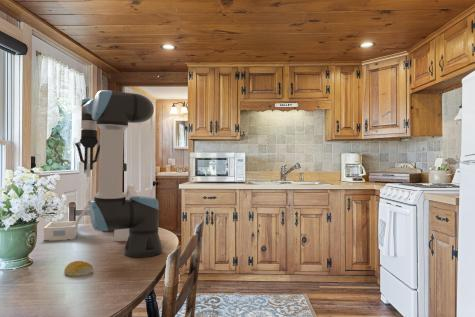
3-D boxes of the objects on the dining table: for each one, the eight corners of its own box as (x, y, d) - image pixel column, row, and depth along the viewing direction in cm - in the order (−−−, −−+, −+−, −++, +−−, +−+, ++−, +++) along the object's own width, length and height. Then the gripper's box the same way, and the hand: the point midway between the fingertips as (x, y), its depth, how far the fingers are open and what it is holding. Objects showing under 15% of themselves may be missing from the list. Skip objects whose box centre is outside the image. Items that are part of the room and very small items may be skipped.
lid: (91, 197, 188) (94, 199, 188) (77, 219, 185) (80, 220, 186) (89, 201, 172) (91, 202, 172) (73, 224, 170) (76, 226, 170)
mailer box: (50, 233, 181) (50, 222, 182) (78, 232, 186) (78, 221, 186) (43, 240, 166) (43, 227, 166) (74, 239, 170) (74, 226, 170)
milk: (137, 241, 168) (138, 186, 168) (113, 240, 168) (114, 185, 168) (145, 236, 180) (146, 184, 180) (122, 235, 180) (123, 184, 180)
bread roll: (82, 268, 126) (83, 256, 126) (96, 273, 120) (96, 261, 120) (59, 273, 119) (59, 261, 119) (72, 279, 114) (72, 266, 114)
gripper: (103, 130, 185) (102, 176, 185) (76, 129, 181) (75, 176, 181) (102, 129, 178) (101, 176, 178) (74, 128, 174) (73, 176, 174)
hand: (88, 176), depth 179 cm, fingers closed
